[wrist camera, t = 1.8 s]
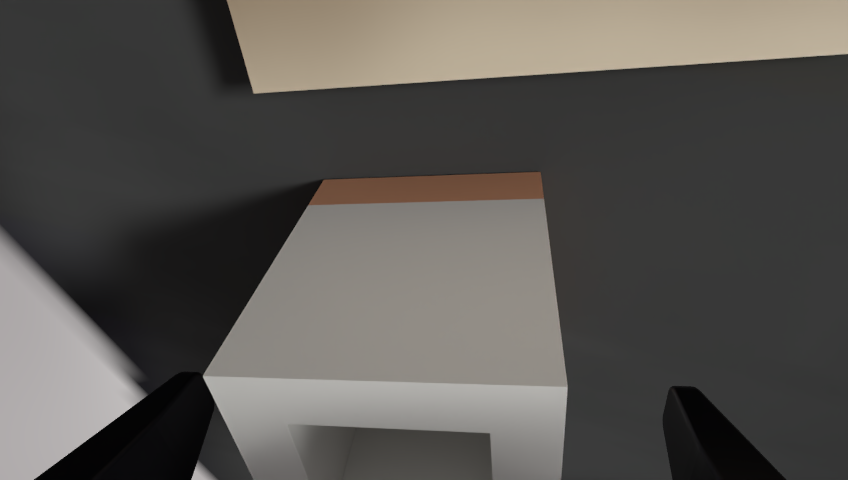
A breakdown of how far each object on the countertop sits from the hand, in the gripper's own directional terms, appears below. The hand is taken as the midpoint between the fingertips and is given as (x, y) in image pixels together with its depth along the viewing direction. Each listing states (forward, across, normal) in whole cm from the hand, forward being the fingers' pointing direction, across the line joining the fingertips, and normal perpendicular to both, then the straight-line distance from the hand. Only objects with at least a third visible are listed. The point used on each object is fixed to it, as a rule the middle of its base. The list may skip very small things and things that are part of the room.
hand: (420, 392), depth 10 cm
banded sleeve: (+4, 0, 0) cm, 4 cm away
